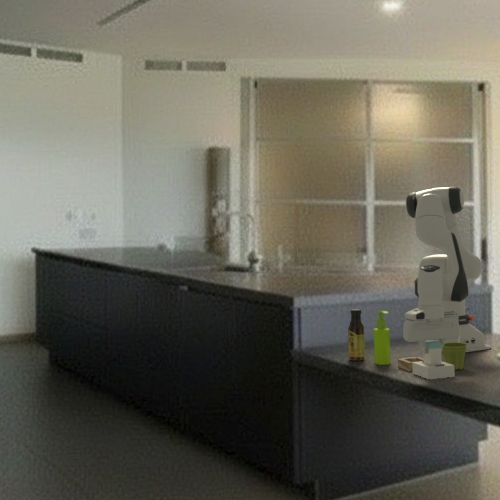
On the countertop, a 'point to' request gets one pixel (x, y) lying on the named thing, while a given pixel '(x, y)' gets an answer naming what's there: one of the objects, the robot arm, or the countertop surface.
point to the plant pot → (454, 354)
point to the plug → (433, 353)
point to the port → (433, 370)
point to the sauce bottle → (356, 336)
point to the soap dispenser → (381, 341)
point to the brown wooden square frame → (408, 363)
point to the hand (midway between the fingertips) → (432, 352)
